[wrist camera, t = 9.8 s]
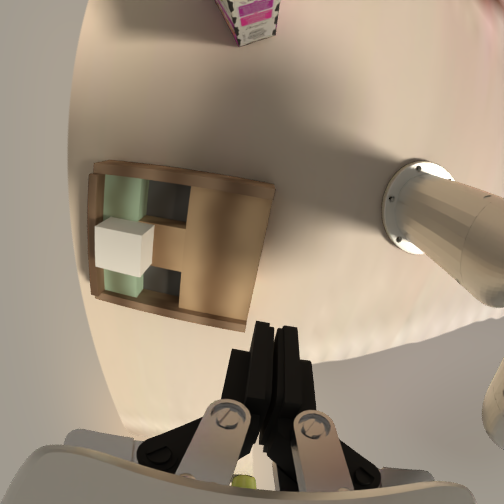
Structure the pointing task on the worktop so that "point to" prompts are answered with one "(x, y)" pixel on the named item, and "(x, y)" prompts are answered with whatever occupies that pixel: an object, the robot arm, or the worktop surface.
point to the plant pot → (244, 482)
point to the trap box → (183, 240)
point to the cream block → (124, 246)
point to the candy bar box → (250, 18)
